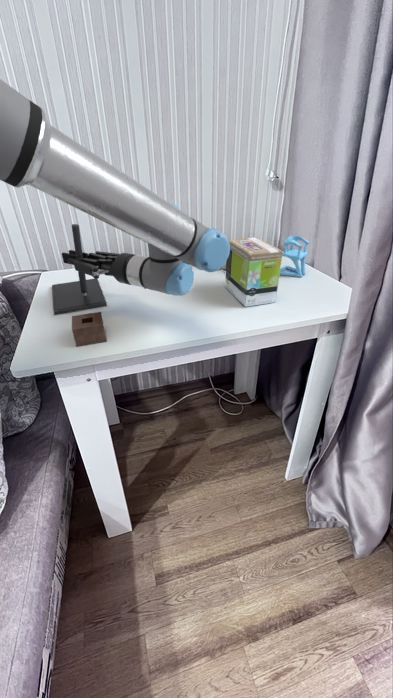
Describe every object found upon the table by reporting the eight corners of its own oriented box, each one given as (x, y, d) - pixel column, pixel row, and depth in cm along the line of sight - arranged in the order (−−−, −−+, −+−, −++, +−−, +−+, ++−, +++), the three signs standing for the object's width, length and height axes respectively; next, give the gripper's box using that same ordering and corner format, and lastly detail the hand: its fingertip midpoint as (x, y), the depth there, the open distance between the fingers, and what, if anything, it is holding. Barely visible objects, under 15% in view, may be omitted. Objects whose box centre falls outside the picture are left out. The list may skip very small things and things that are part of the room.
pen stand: (76, 346, 74) (71, 329, 71) (76, 332, 79) (71, 315, 76) (106, 341, 75) (103, 324, 73) (104, 327, 81) (101, 311, 78)
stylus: (82, 297, 93) (72, 226, 81) (80, 295, 94) (70, 224, 82) (88, 296, 94) (79, 225, 82) (86, 293, 95) (77, 223, 83)
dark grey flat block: (52, 287, 102) (51, 284, 101) (97, 280, 106) (97, 277, 105) (54, 315, 86) (53, 311, 86) (107, 305, 91) (106, 302, 90)
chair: (298, 279, 104) (304, 242, 97) (275, 274, 108) (279, 237, 102) (308, 272, 109) (315, 236, 102) (285, 267, 113) (290, 232, 107)
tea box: (277, 302, 91) (284, 250, 82) (244, 308, 88) (248, 254, 80) (253, 283, 103) (257, 235, 94) (224, 287, 100) (225, 238, 92)
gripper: (116, 295, 77) (49, 278, 86) (153, 274, 87) (89, 261, 97) (111, 264, 72) (41, 250, 82) (150, 247, 83) (84, 236, 93)
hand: (67, 256), depth 89 cm, fingers closed on stylus, 2 cm apart
